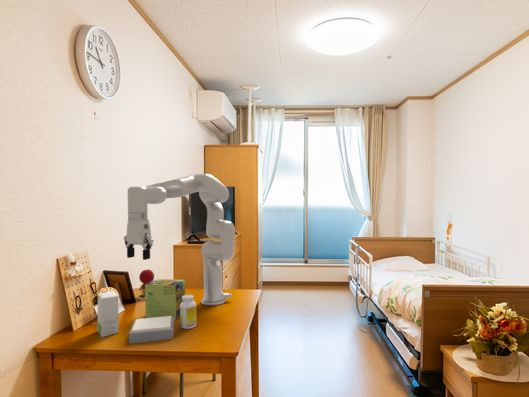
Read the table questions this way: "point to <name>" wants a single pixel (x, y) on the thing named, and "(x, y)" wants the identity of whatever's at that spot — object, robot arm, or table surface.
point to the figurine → (145, 281)
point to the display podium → (152, 329)
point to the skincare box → (107, 313)
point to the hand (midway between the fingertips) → (138, 258)
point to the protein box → (164, 298)
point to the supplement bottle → (188, 312)
